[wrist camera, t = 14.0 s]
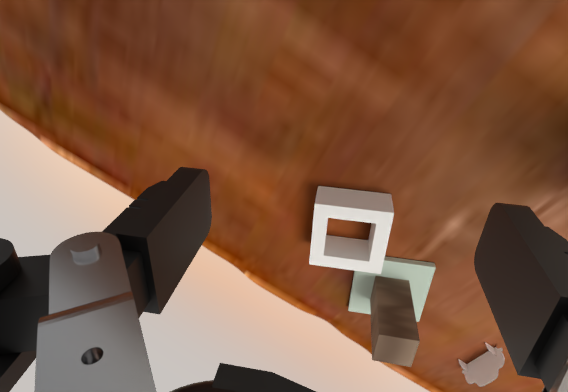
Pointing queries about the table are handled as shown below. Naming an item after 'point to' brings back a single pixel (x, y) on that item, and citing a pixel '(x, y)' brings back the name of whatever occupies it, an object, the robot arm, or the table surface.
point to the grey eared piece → (484, 367)
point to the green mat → (399, 269)
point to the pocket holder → (352, 208)
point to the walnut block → (393, 322)
